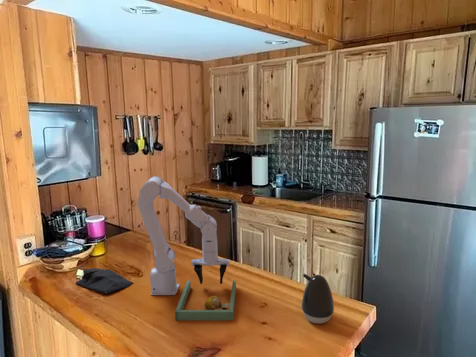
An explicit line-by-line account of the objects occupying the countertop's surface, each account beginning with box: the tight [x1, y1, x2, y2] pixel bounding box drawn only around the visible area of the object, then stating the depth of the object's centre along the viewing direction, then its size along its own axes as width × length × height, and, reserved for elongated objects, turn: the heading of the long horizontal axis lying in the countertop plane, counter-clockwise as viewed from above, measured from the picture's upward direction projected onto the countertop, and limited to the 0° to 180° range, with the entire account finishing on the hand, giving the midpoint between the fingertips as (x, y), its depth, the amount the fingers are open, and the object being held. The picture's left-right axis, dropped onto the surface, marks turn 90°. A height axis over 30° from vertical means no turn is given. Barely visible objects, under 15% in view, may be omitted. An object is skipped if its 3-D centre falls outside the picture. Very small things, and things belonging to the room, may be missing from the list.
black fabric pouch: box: [75, 267, 134, 294], centre depth 143 cm, size 15×22×5 cm
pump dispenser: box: [301, 273, 335, 325], centre depth 114 cm, size 10×10×15 cm
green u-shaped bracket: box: [174, 279, 237, 321], centre depth 127 cm, size 19×22×3 cm
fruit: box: [204, 295, 230, 310], centre depth 123 cm, size 8×8×4 cm
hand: (211, 282), depth 137 cm, fingers open, 7 cm apart
